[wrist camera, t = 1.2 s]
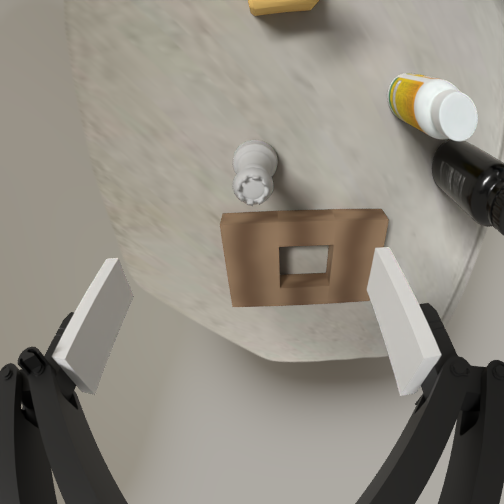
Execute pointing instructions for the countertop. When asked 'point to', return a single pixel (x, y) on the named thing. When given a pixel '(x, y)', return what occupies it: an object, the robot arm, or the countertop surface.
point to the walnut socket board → (300, 234)
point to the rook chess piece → (254, 171)
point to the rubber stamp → (279, 6)
